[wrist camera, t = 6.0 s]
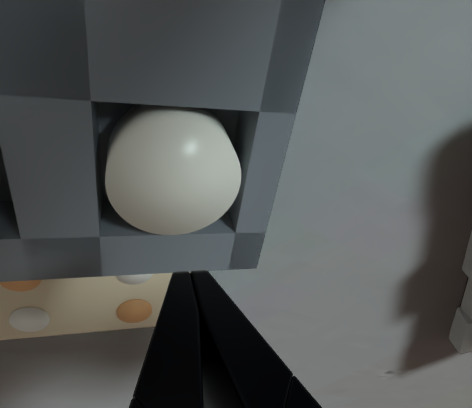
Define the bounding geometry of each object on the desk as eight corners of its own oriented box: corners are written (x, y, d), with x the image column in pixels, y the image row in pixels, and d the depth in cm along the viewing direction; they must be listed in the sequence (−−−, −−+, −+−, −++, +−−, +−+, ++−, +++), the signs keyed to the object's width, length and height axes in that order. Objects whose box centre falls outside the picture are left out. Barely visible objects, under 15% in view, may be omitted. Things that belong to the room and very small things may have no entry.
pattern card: (208, 240, 19) (209, 245, 19) (196, 318, 22) (197, 324, 22) (-81, 249, 16) (-85, 256, 15) (-43, 339, 19) (-45, 346, 19)
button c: (237, 100, 13) (251, 124, 12) (221, 202, 16) (230, 233, 14) (105, 91, 12) (101, 117, 11) (109, 203, 15) (107, 237, 13)
